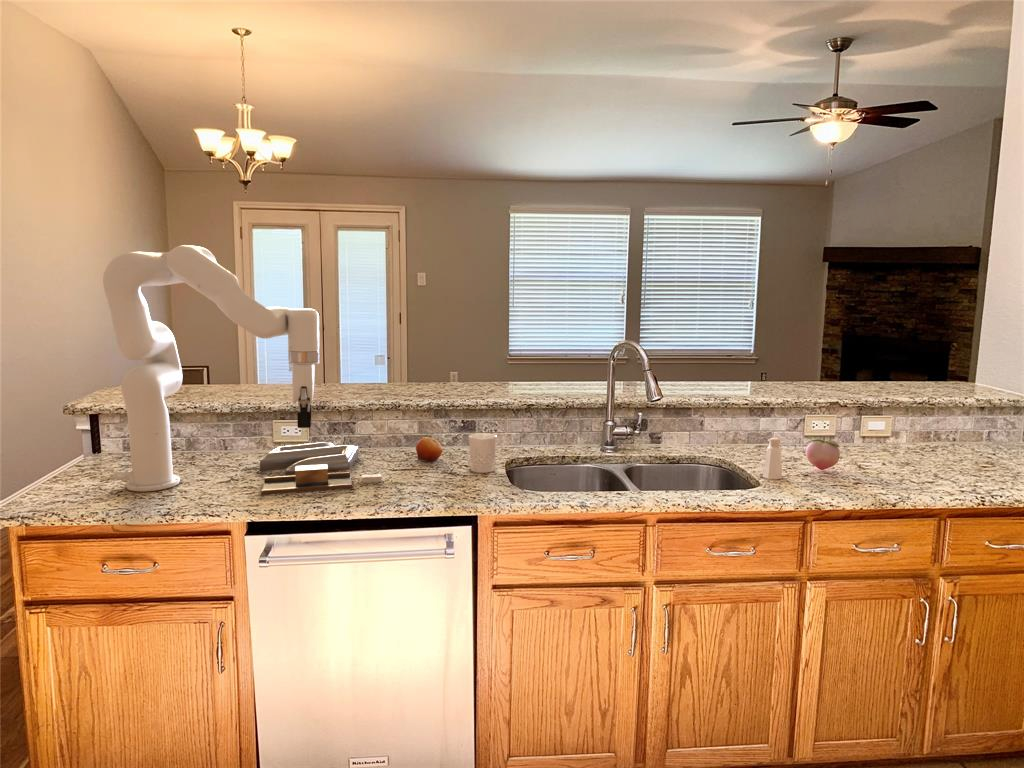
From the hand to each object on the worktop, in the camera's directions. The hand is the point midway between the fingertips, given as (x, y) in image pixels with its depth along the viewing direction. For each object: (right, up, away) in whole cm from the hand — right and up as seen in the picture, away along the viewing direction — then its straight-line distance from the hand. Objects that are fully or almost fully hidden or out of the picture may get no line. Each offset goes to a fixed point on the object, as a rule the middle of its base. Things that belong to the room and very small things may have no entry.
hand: (304, 423), depth 180 cm
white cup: (+45, -15, +21) cm, 52 cm away
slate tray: (+1, -17, +1) cm, 17 cm away
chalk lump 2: (+16, -15, +5) cm, 23 cm away
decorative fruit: (+144, -15, +25) cm, 147 cm away
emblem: (-4, -14, +22) cm, 27 cm away
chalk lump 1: (+15, -17, +5) cm, 23 cm away
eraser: (+2, -16, +1) cm, 16 cm away
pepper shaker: (+127, -16, +17) cm, 129 cm away
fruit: (+29, -13, +31) cm, 44 cm away
